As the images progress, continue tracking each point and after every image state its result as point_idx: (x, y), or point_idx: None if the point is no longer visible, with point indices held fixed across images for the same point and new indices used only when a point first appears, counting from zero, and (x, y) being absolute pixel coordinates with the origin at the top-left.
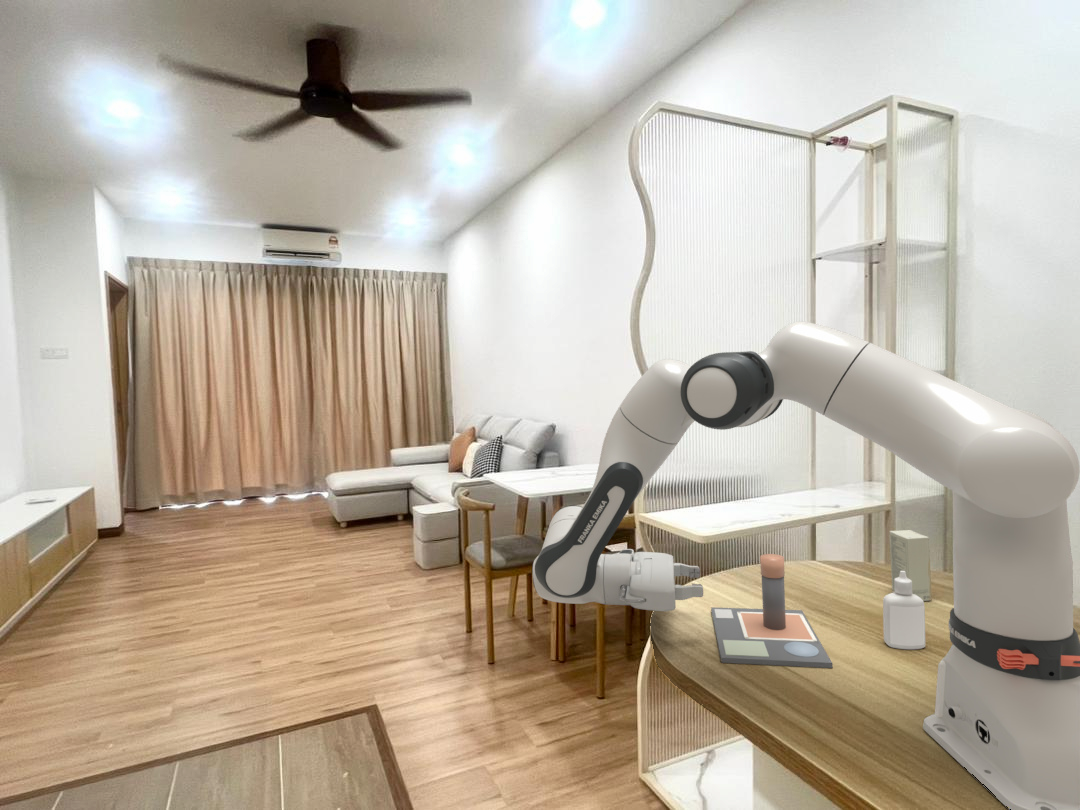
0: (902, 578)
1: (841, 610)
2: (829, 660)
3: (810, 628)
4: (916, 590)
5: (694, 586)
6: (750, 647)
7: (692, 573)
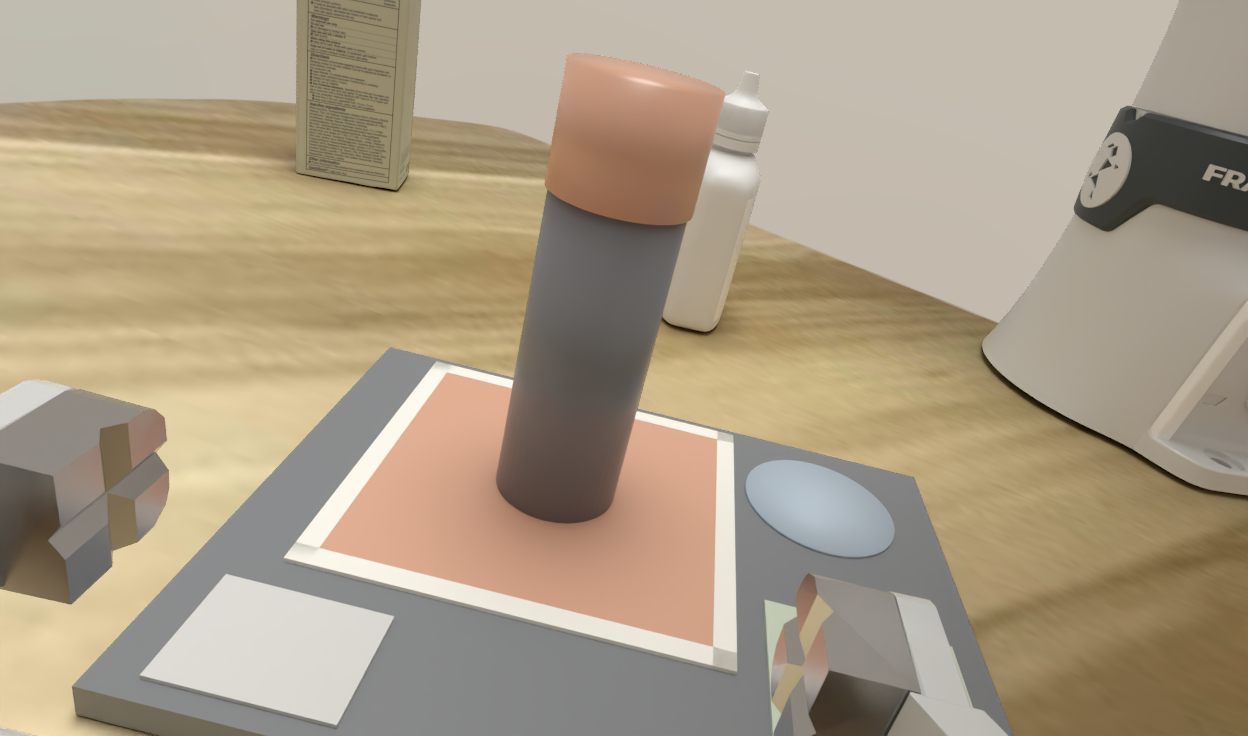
0: (756, 97)
1: (394, 284)
2: (894, 475)
3: None
4: (403, 151)
5: (959, 674)
6: None
7: (85, 522)
